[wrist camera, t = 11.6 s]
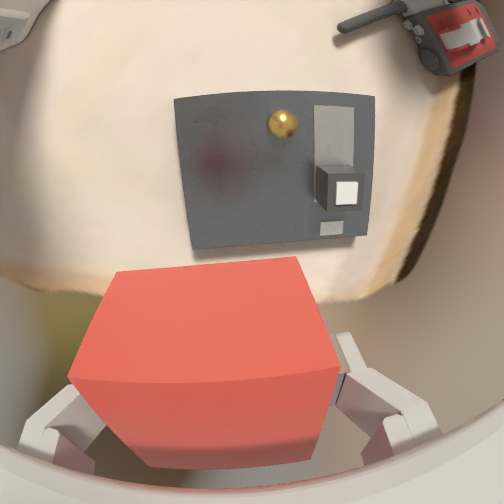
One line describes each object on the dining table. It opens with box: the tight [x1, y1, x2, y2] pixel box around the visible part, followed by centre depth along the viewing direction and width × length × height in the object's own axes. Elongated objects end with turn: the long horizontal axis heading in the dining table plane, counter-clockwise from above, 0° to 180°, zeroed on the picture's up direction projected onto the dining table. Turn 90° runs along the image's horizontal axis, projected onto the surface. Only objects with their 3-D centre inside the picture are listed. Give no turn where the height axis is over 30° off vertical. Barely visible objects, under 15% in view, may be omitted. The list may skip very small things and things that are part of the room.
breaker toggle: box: [317, 166, 365, 212], centre depth 20 cm, size 3×3×3 cm
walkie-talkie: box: [337, 0, 500, 76], centre depth 15 cm, size 9×4×20 cm
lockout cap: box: [67, 256, 341, 469], centre depth 8 cm, size 6×6×4 cm
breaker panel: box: [174, 91, 375, 250], centre depth 21 cm, size 15×12×3 cm
